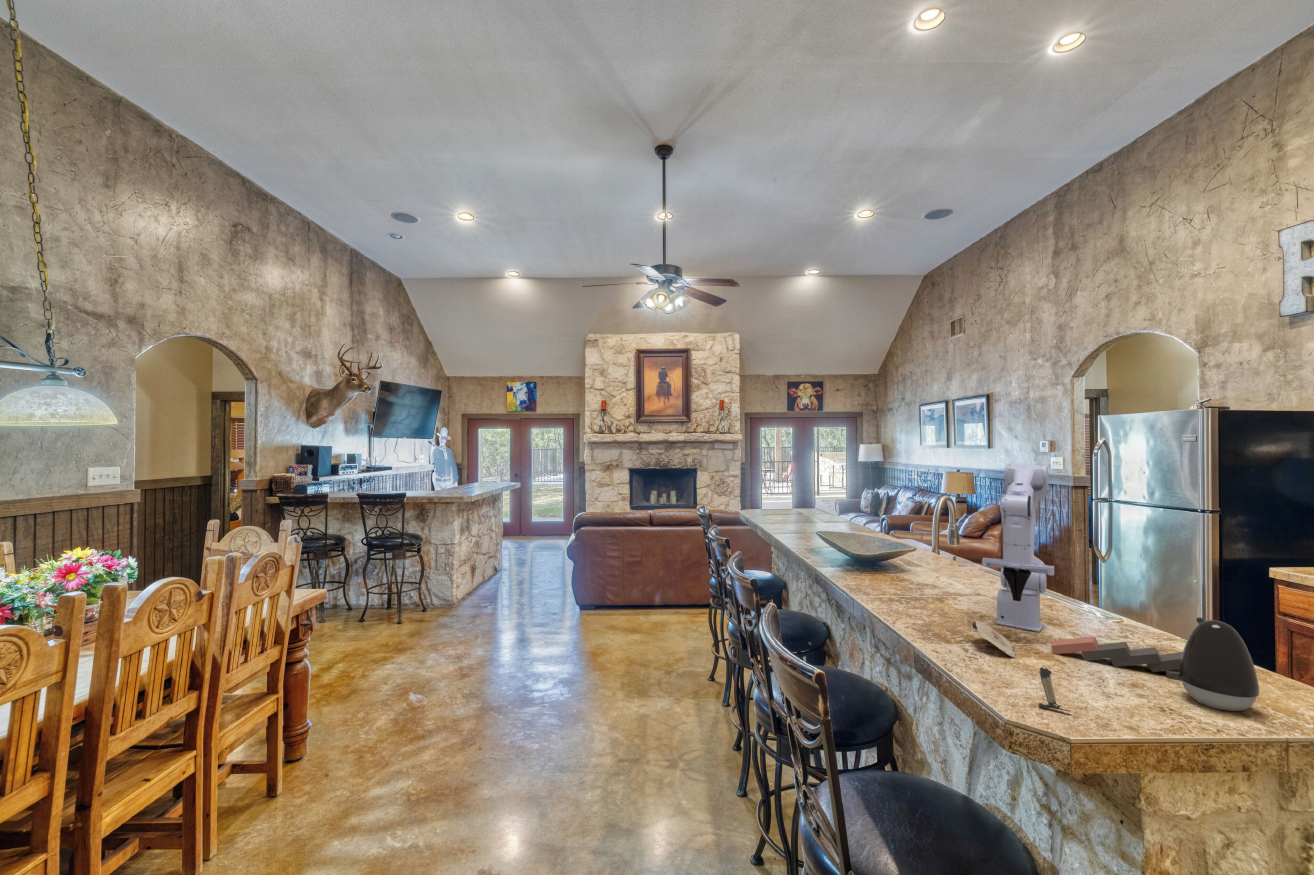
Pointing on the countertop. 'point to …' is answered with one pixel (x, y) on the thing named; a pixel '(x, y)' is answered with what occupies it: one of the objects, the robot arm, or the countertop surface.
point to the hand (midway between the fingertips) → (1017, 600)
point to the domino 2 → (1138, 657)
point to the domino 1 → (1108, 651)
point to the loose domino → (1075, 645)
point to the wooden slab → (994, 638)
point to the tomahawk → (1049, 692)
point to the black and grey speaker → (1218, 667)
